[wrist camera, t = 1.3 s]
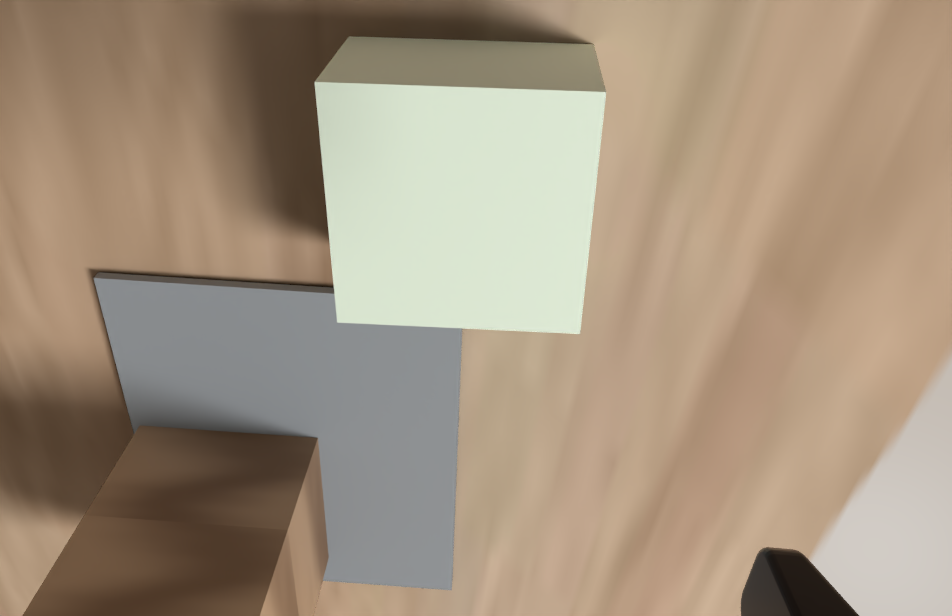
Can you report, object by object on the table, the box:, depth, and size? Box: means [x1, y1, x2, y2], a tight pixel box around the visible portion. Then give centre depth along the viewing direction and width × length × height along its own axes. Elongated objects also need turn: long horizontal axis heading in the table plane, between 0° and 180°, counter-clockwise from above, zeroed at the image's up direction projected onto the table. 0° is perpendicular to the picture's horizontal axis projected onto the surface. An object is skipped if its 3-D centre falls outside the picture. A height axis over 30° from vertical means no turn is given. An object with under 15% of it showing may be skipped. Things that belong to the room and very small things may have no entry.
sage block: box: [315, 36, 606, 334], centre depth 18 cm, size 6×6×4 cm
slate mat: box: [94, 272, 462, 590], centre depth 25 cm, size 10×12×1 cm
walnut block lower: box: [85, 425, 329, 616], centre depth 24 cm, size 6×6×4 cm
